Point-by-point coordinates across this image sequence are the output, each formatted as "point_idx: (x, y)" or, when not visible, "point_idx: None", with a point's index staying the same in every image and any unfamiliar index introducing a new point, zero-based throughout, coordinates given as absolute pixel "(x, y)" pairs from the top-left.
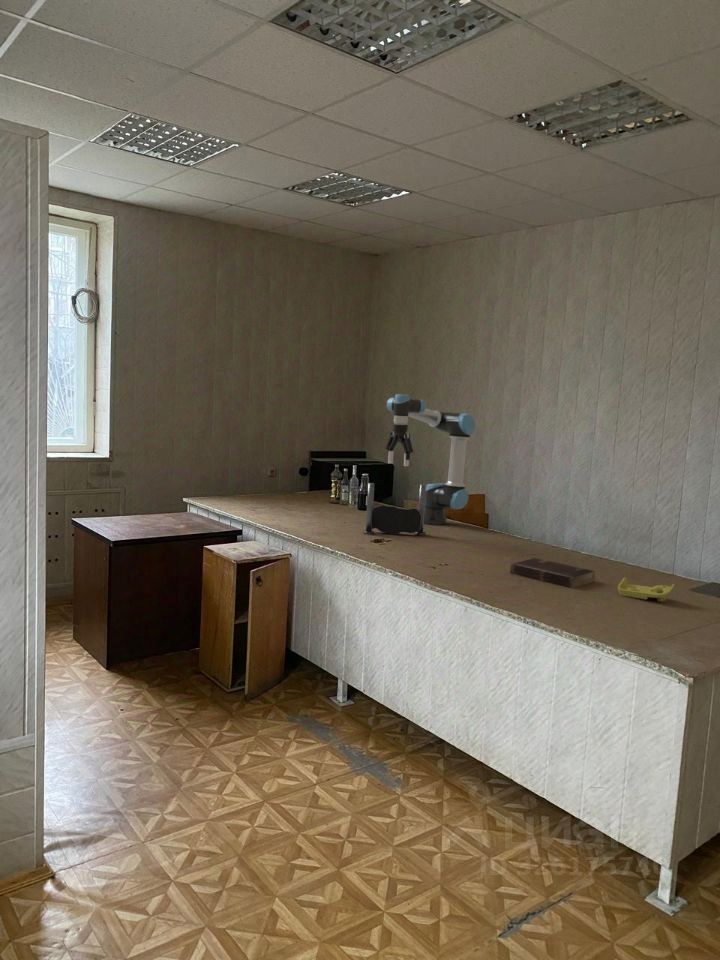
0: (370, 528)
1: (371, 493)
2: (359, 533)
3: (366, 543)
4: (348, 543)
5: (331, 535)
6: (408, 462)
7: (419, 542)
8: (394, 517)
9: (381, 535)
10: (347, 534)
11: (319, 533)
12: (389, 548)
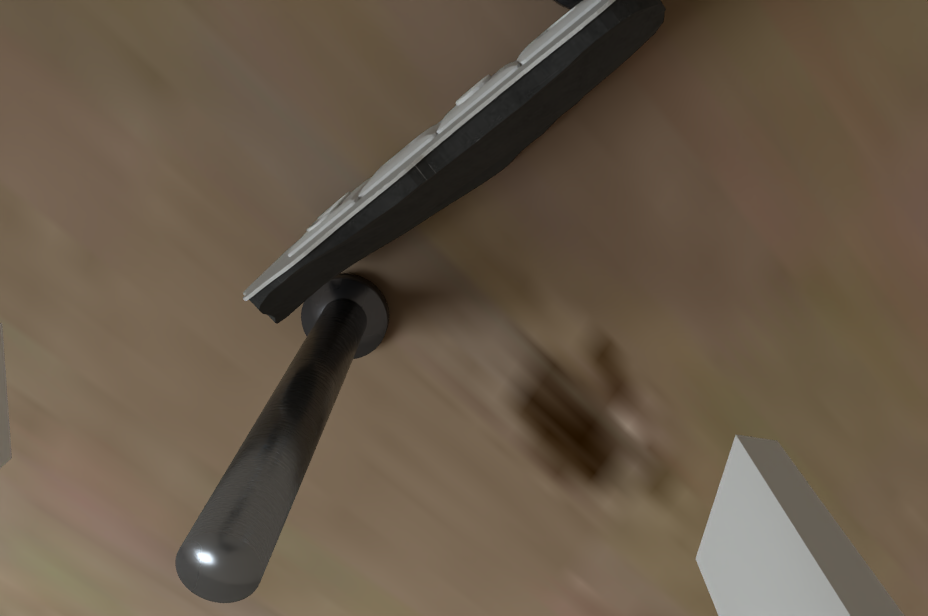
0: (362, 335)
1: (291, 505)
2: None
3: (585, 535)
4: (525, 613)
5: (289, 551)
6: (816, 519)
7: (783, 219)
8: (446, 185)
9: (443, 278)
10: None
11: None
12: None
